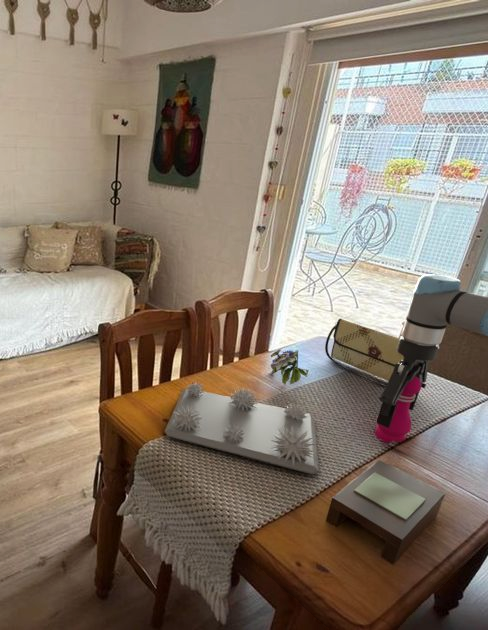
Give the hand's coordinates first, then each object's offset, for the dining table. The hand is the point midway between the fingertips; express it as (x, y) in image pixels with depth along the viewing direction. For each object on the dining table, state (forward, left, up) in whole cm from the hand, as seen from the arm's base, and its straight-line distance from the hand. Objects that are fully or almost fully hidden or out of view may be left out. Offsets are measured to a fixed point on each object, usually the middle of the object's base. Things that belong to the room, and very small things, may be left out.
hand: (394, 416), depth 111 cm
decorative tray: (+23, +30, -7) cm, 38 cm away
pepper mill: (0, 0, -7) cm, 7 cm away
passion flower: (+33, -8, -7) cm, 34 cm away
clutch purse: (+19, -31, -7) cm, 37 cm away
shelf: (-11, +31, -6) cm, 34 cm away
